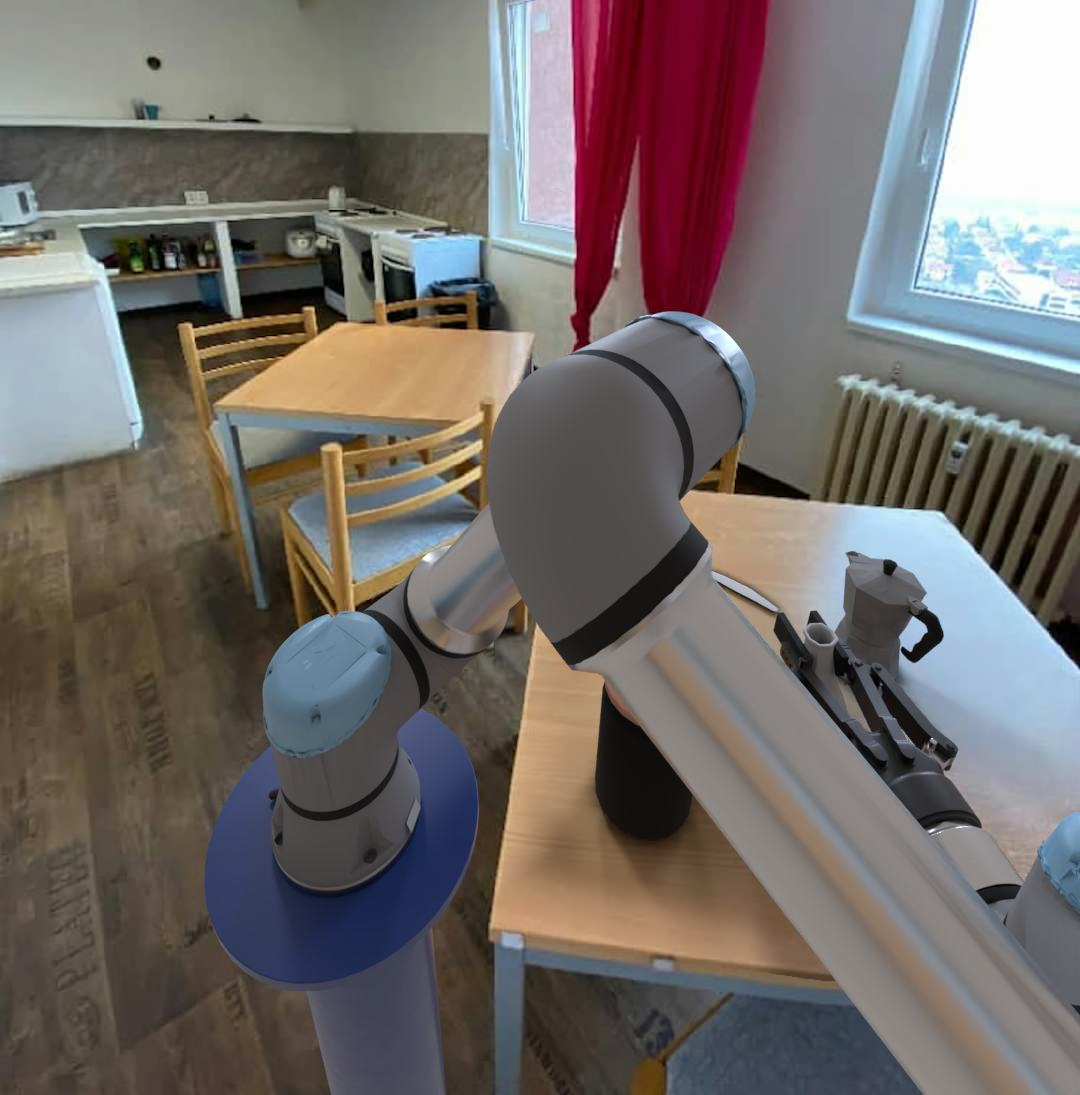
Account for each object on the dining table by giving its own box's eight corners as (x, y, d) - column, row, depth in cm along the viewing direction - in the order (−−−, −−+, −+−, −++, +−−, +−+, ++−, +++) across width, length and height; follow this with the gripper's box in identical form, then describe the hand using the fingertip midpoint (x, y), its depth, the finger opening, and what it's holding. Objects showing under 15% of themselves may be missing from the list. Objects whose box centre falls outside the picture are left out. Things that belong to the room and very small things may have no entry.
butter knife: (640, 527, 112) (631, 534, 110) (782, 605, 95) (774, 614, 93) (640, 530, 112) (630, 536, 110) (781, 608, 95) (773, 617, 93)
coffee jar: (689, 759, 72) (708, 646, 65) (691, 858, 62) (714, 737, 55) (599, 741, 74) (609, 628, 67) (588, 833, 64) (598, 713, 57)
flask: (760, 686, 69) (768, 619, 65) (811, 666, 71) (822, 600, 67) (806, 742, 62) (818, 672, 59) (861, 718, 65) (876, 649, 61)
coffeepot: (800, 636, 89) (824, 536, 82) (851, 623, 92) (879, 525, 85) (883, 728, 76) (920, 619, 69) (940, 710, 78) (982, 602, 72)
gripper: (832, 888, 48) (721, 649, 69) (1020, 868, 49) (854, 641, 71) (853, 828, 45) (730, 598, 66) (1052, 808, 46) (869, 591, 68)
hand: (795, 621), depth 69 cm, fingers closed on flask, 3 cm apart
